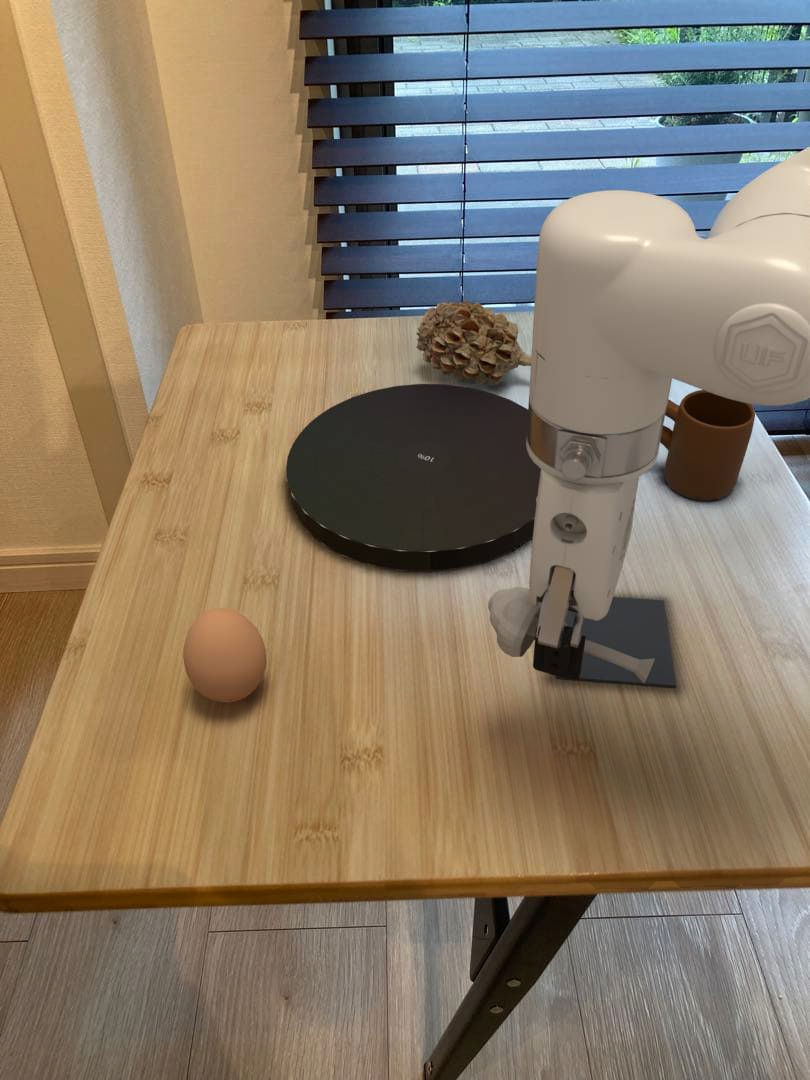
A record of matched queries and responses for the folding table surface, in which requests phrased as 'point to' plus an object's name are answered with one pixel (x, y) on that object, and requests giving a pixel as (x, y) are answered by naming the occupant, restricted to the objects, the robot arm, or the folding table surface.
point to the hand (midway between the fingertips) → (568, 635)
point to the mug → (706, 444)
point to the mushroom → (520, 620)
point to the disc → (416, 477)
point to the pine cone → (470, 342)
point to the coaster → (629, 642)
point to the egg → (224, 655)
